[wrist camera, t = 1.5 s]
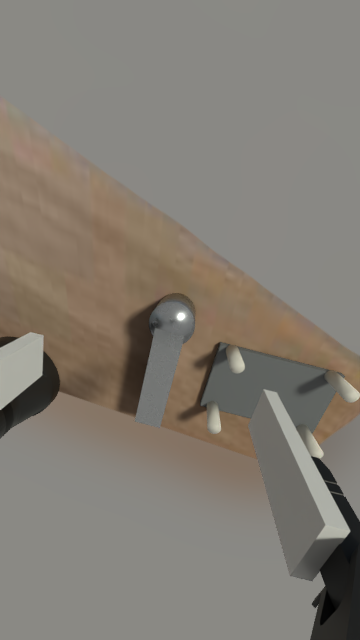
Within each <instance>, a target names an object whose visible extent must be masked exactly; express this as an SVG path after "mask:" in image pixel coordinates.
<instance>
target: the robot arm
mask: <svg viewBox="0 0 360 640" xmlns="http://www.w3.org/2000/svg"><path fill="white" fill-rule="evenodd" d="M43 336H44V335H40V334H36V333H32V332H30V333H28V334H26V335H24V336H22V337H20V338H16V337H1V338H0V438H1V437H2V436H3V435H4V434H5V433H6V432H8V430H10V428H12V427H14V426H16V425H17V424H19V423H21V422H23V421H24V420H26V419H28V418H29V417H31V416H34V415H36V414H38V413H40V412H41V411H43V410H44V409H45V408H46V407H47V406H48V405H49V404H50V403H51V402H52V401H53V400H54V399H55V397H56V396H57V394H58V391H59V386H60V380H59V375H58V371H57V369H56V367H55V365H54V363H53V362H52V360H51V359H50V358H49V356H48V355H47V354H46V353H45V352H44V351H43ZM248 427H249V430H250V434H251V437H252V441H253V445H254V448H255V452H256V455H257V459H258V463H259V466H260V470H261V473H262V477H263V480H264V484H265V488H266V491H267V495H268V499H269V502H270V505H271V509H272V513H273V517H274V520H275V524H276V527H277V531H278V535H279V538H280V541H281V545H282V549H283V553H284V556H285V560H286V563H287V567H288V570H289V574H290V576H293V577H297V578H301V579H305V580H309V581H313V579H314V578H315V577H316V575H317V574H318V573H319V571H320V572H321V575H322V578H323V580H324V583H325V587H324V588H323V590H322V591H321V592H320V593H319V595H318V596H317V597H316V598H315V600H314V601H313V603H312V605H313V606H314V607H315V608H316V607H317V605H318V604H319V605H318V609H317V614H316V618H315V622H314V626H313V630H312V635H311V639H310V640H360V521H359V519H358V518H357V516H356V514H355V513H354V511H353V509H352V508H351V506H350V504H349V502H348V501H347V499H346V497H344V496H343V492H342V490H341V489H340V487H339V486H338V485H337V482H336V481H335V479H334V477H333V475H332V473H331V472H330V470H329V469H328V468H327V467H326V466H325V464H323V462H322V461H321V460H320V459H319V458H317V457H313V456H310V454H309V452H308V450H307V448H306V447H305V445H304V443H303V441H302V439H301V437H300V435H299V434H298V432H297V430H296V428H295V426H294V424H293V422H292V420H291V419H290V417H289V415H288V413H287V411H286V409H285V407H284V405H283V404H282V402H281V400H280V398H279V396H278V394H277V392H273V391H269V390H265V389H263V392H262V394H261V397H260V399H259V401H258V404H257V406H256V408H255V411H254V413H253V415H252V418H251V420H250V423H249V425H248Z"/></svg>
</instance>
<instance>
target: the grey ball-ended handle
mask: <svg viewBox="0 0 360 640" xmlns="http://www.w3.org/2000/svg"><path fill="white" fill-rule="evenodd" d="M149 328H150V331H151V334H152V335H153V341H152V345H151V350H150V354H149V359H148V364H147V368H146V373H145V377H144V382H143V386H142V391H141V395H140V400H139V404H138V409H137V413H136V418H135V421H136V422H139V423H143V424H147V425H151V426H154V427H159V428H160V425H161V421H162V418H163V414H164V410H165V406H166V403H167V399H168V395H169V392H170V388H171V384H172V381H173V377H174V373H175V370H176V366H177V362H178V358H179V355H180V351H181V347H182V344H183V343H185V342H187V341H188V340H189V339H190V338H191V336H192V334H193V332H194V328H195V307H194V304H193V302H192V301H191V300H190V299H189V298H188V297H187V296H185V295H183V294H179V293H172V294H169V295H167V296H165V297H164V298H162V299H161V301H160V302H159V304H158V305H157V306H156V308H155V309H154V311H153V312H152V314H151V316H150V319H149Z"/></svg>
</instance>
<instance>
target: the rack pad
mask: <svg viewBox="0 0 360 640" xmlns="http://www.w3.org/2000/svg"><path fill="white" fill-rule="evenodd" d="M344 377H345V376H344V375H343V374H342V373H339V372H336V371H334V370H328V369H324V368H320V367H316V366H312V365H308V364H304V363H300V362H296V361H292V360H289V359H285V358H281V357H277V356H273V355H269V354H265V353H261V352H257V351H253V350H250V349H246V348H242V347H238V346H236V345H230V344H226V343H222V342H220V344H219V347H218V350H217V353H216V356H215V359H214V362H213V365H212V368H211V371H210V374H209V377H208V380H207V383H206V386H205V389H204V392H203V395H202V398H201V401H200V406H204V407H207V426H208V431H209V432H210V433H213V434H216V433H219V432H220V430H221V425H220V417H219V410H220V411H224V412H228V413H232V414H236V415H239V416H243V417H247V418H252V415H253V413H254V411H255V408H256V406H257V404H258V401H259V399H260V397H261V394H262V392H263V389H265V390H269V391H273V392H277V394H278V396H279V398H280V400H281V402H282V404H283V405H284V407H285V409H286V411H287V413H288V415H289V417H290V419H291V420H292V422H293V424H294V426H295V428H296V430H297V432H298V434H299V435H300V437H301V439H302V441H303V443H304V445H305V447H306V448H307V450H308V452H309V454H310V456H313V457H317V458H319V459H320V458H322V457H323V455H324V454H323V452H322V450H321V448H320V447H319V445H318V443H317V442H316V440H315V438H314V437H313V435H312V433H313V432H314V430H315V428H316V426H317V424H318V423H319V421H320V419H321V417H322V416H323V414H324V412H325V410H326V409H327V407H328V405H329V403H330V402H331V400H332V398H333V396H334V395H335V393H336V391H337V392H338V393H339V395H340V396H341V397H342V398H343V399H344V400H345V401H347V402H355V401H357V400H358V399H359V397H360V394H359V392H358V391H357V390H356V389H355V388H354V387H352V386H351V385H350V384H349V383H348V382H347V381H346V380H345V379H344Z"/></svg>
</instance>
